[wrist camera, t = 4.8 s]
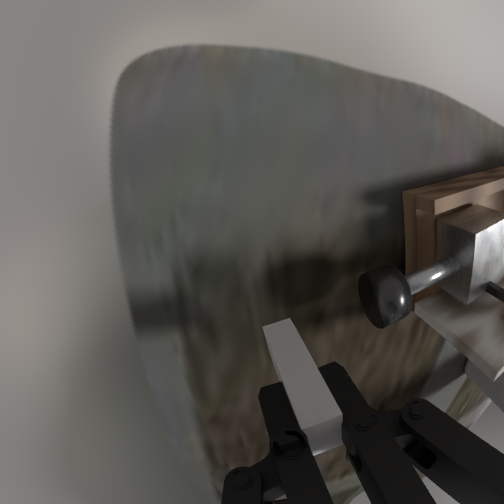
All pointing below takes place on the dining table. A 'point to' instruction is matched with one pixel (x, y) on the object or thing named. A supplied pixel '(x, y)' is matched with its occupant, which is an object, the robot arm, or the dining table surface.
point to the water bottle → (487, 383)
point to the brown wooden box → (425, 251)
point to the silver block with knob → (442, 267)
